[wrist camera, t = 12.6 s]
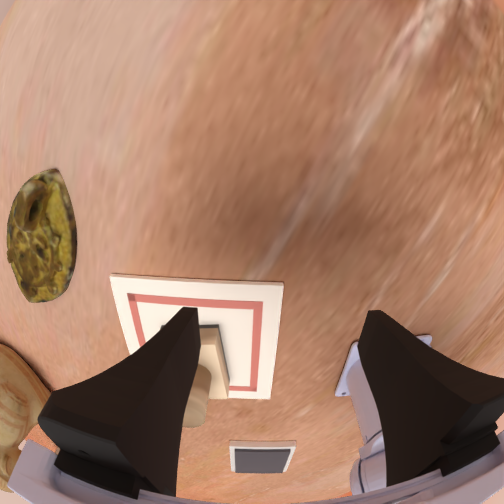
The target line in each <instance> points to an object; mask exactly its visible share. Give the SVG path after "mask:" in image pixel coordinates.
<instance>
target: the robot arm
mask: <svg viewBox="0 0 504 504" xmlns="http://www.w3.org/2000/svg"><path fill="white" fill-rule="evenodd" d="M431 341H432V337H431V335H424V336H414V335H413V334H412V333H411V332H409V331H408V330H407V329H405V328H404V327H403V326H402V325H400V324H399V323H398V322H396V321H395V320H394V319H392V318H391V317H390V316H388V315H387V314H386V313H384V312H383V311H381V310H369V311H368V313H367V317H366V320H365V323H364V326H363V330H362V333H361V336H360V339H359V342H355V343H353V344H352V346H351V349H350V352H349V355H348V358H347V360H346V363H345V366H344V369H343V372H342V374H341V377H340V380H339V382H338V385H337V388H336V390H335V396H338V397H339V396H349V395H350V396H351V399H352V403H353V406H354V410H355V413H356V417H357V420H358V424H359V428H360V431H361V435H362V439H363V442H364V446H363V447H361V448H359V453H360V458H359V459H357V460H356V461H355V462H354V464H353V466H352V469H351V472H350V487H351V492H352V496H347V497H341V498H335V499H329V500H322V501H314V502H304V503H292V504H481V503H483V502H484V501H486V500H487V499H488V498H490V497H491V496H492V495H494V494H495V493H496V492H498V491H499V490H500V489H502V488H503V487H504V430H503V431H502V432H500V433H499V434H498V435H496V433H495V430H496V429H497V428H498V426H497V424H496V421H497V419H498V418H499V417H500V416H501V415H502V414H503V413H504V378H500V377H496V376H491V375H488V374H485V373H482V372H479V371H476V370H473V369H471V368H468V367H466V366H464V365H462V364H460V363H457V362H455V361H453V360H451V359H450V358H448V357H446V356H444V355H443V354H441V353H439V352H438V351H436V350H434V349H433V348H432V347H431V345H430V343H431ZM200 349H201V339H200V329H199V318H198V308H196V307H182V308H181V309H180V310H179V311H178V312H177V313H176V314H175V315H174V316H173V317H172V318H171V319H170V320H169V321H168V322H167V323H166V324H165V325H164V326H163V327H162V328H161V329H160V330H159V331H158V332H157V333H156V334H155V335H154V336H153V337H152V338H151V339H150V340H148V341H147V342H146V343H145V344H144V345H143V346H141V347H140V348H139V349H138V350H137V351H135V352H134V353H133V354H131V355H130V356H128V357H127V358H125V359H124V360H123V361H121V362H119V363H118V364H116V365H114V366H113V367H111V368H109V369H107V370H106V371H104V372H102V373H100V374H98V375H96V376H94V377H92V378H90V379H87V380H85V381H83V382H80V383H77V384H75V385H72V386H69V387H66V388H63V389H59V390H56V391H53V392H52V393H51V395H50V397H49V398H48V400H47V402H46V404H45V405H44V407H43V409H42V411H41V412H40V414H39V416H38V419H37V420H38V423H39V425H40V427H41V429H42V430H43V431H44V432H45V433H46V435H47V436H48V437H49V438H50V439H51V440H52V441H53V442H54V443H55V444H56V445H57V446H58V447H59V448H60V451H59V453H58V455H57V454H56V453H54V452H53V451H51V450H49V449H48V448H46V447H44V446H42V445H40V444H38V443H36V442H34V441H33V440H31V439H28V440H27V442H26V444H25V446H24V448H23V450H22V452H21V454H20V456H19V458H18V461H17V463H16V465H15V467H14V469H13V472H12V474H11V476H10V479H9V481H8V484H7V486H8V488H10V489H11V490H12V491H14V492H15V493H16V494H18V495H19V496H21V497H22V498H24V499H25V500H27V501H28V502H30V503H31V504H228V503H215V502H206V501H198V500H190V499H184V498H178V497H176V482H177V468H178V457H179V448H180V440H181V432H182V426H183V419H184V414H185V409H186V405H187V402H188V398H189V395H190V391H191V388H192V384H193V381H194V377H195V374H196V370H197V367H198V362H199V355H200Z"/></svg>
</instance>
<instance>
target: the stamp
mask: <svg viewBox="0 0 504 504" xmlns="http://www.w3.org/2000/svg"><path fill="white" fill-rule="evenodd" d="M163 326H164V325H162V326H161V328H162V327H163ZM161 328H160V329H161ZM199 329H200V339H201V349H200V355H199V362H198V367H197V370H196V374H195V377H194V381H193V384H192V388H191V391H190V395H189V398H188V402H187V405H186V409H185V414H184V419H183V426H182V427H187V428H195V427H199V426H202V425H203V424H204V422H205V417H206V410H207V404H208V399H228V395H229V384H230V377H229V373H228V368H227V363H226V358H225V354H224V349H223V344H222V339H221V334H220V328H219V324H212V325H199Z"/></svg>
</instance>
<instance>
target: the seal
mask: <svg viewBox="0 0 504 504" xmlns="http://www.w3.org/2000/svg"><path fill="white" fill-rule="evenodd" d="M76 245H77V240H76V222H75V217H74V212H73V208H72V204H71V201H70V197H69V194H68V191H67V188H66V186H65V183H64V181H63V179H62V177H61V174H60V173H59V171H58V170H56V169H51V170H47V171H43V172H41V173H38V174H36V175H34V176H33V177H32V178H30V179H29V180H28V181H27V182H26V183H24V185H23V186H22V188H21V189H20V191H19V192H18V194H17V196H16V197H15V199H14V201H13V204H12V207H11V211H10V215H9V219H8V223H7V248H8V251H7V256H8V257H7V259H8V262H9V263H11V267H12V269H13V272H14V274H15V277H16V280H17V283H18V285H19V288H20V289H21V291H22V293H23V295H24V296H25V297H26V299H27V300H28V301H29V302H31V303H39V302H47V301H51V300H54V299H56V298H57V297H59V296H61V295H62V294H63V293H64V292H65V291H66V289H67V288H68V285H69V283H70V280H71V277H72V275H73V271H74V266H75V256H76Z"/></svg>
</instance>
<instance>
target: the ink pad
mask: <svg viewBox="0 0 504 504" xmlns="http://www.w3.org/2000/svg"><path fill="white" fill-rule="evenodd" d="M229 448H230V460H231V471H235V473H282V472H286V470H287V468H288V465H289V463H290V461H291V458H292V456H293V453H294V451H295V448H296V441H233V440H230V445H229Z"/></svg>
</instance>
